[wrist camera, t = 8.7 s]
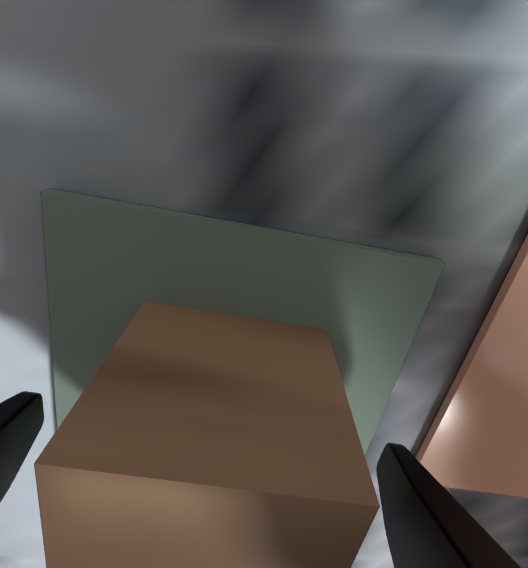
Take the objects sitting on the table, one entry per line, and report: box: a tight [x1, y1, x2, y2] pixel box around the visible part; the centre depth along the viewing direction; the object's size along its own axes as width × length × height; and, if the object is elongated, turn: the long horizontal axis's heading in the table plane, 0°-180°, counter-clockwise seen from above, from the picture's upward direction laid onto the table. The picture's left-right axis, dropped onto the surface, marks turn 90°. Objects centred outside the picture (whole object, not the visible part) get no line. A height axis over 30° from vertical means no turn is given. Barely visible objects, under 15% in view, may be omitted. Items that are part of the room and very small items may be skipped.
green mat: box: [41, 188, 445, 456], centre depth 11 cm, size 10×10×1 cm
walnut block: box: [34, 301, 380, 568], centre depth 8 cm, size 5×5×5 cm
